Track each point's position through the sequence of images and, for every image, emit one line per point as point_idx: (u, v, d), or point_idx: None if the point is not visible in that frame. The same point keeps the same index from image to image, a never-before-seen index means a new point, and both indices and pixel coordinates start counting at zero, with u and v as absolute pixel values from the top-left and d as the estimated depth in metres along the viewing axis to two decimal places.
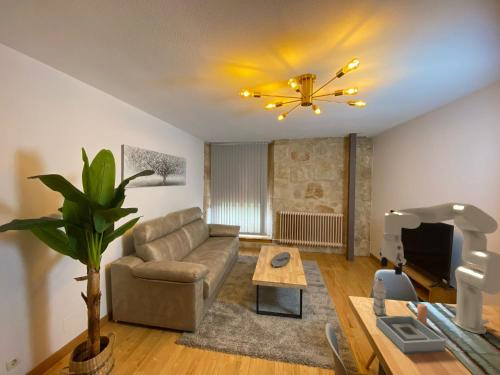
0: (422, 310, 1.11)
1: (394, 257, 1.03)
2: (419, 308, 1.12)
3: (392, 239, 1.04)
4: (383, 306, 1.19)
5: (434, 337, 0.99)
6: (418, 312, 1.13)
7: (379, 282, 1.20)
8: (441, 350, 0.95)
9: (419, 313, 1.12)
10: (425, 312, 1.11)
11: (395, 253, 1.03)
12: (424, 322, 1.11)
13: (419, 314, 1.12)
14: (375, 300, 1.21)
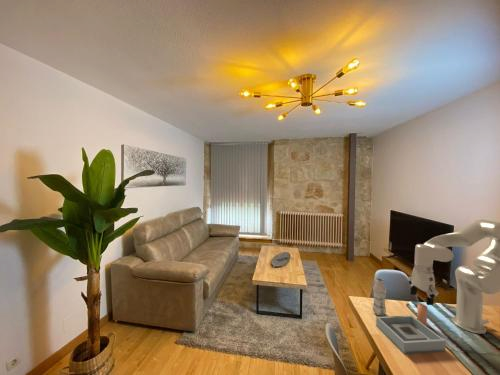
0: (422, 310, 1.11)
1: (426, 288, 1.08)
2: (419, 308, 1.12)
3: (424, 270, 1.09)
4: (383, 306, 1.19)
5: (434, 337, 0.99)
6: (418, 312, 1.13)
7: (379, 282, 1.20)
8: (441, 350, 0.95)
9: (419, 313, 1.12)
10: (425, 312, 1.11)
11: (427, 284, 1.08)
12: (424, 322, 1.11)
13: (419, 314, 1.12)
14: (375, 300, 1.21)
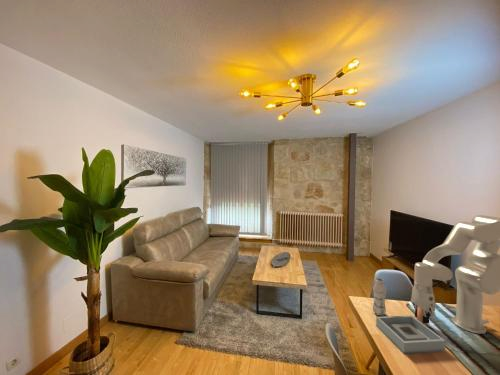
0: (422, 310, 1.11)
1: (426, 307, 1.08)
2: (419, 308, 1.12)
3: (424, 290, 1.09)
4: (383, 306, 1.19)
5: (434, 337, 0.99)
6: (418, 312, 1.13)
7: (379, 282, 1.20)
8: (441, 350, 0.95)
9: (419, 313, 1.12)
10: None
11: (427, 304, 1.08)
12: None
13: (419, 314, 1.12)
14: (375, 300, 1.21)
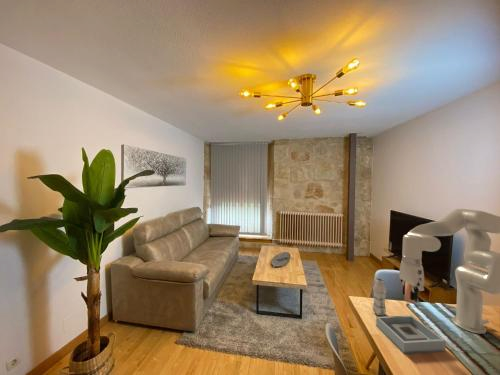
0: (410, 286, 1.02)
1: (414, 282, 0.99)
2: (407, 283, 1.03)
3: (412, 263, 1.00)
4: (383, 306, 1.19)
5: (434, 337, 0.99)
6: (406, 288, 1.03)
7: (379, 282, 1.20)
8: (441, 350, 0.95)
9: (407, 289, 1.03)
10: None
11: (415, 278, 0.98)
12: None
13: (407, 290, 1.03)
14: (375, 300, 1.21)
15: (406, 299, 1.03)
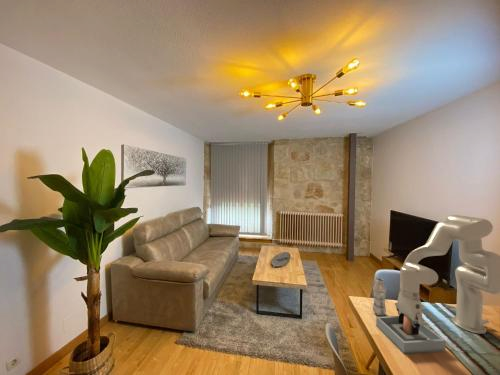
0: (408, 321, 1.01)
1: (412, 316, 0.98)
2: (405, 318, 1.02)
3: (410, 297, 0.99)
4: (383, 306, 1.19)
5: (434, 337, 0.99)
6: (404, 323, 1.03)
7: (379, 282, 1.20)
8: (441, 350, 0.95)
9: (406, 324, 1.02)
10: None
11: (413, 312, 0.98)
12: (410, 334, 1.01)
13: (405, 325, 1.02)
14: (375, 300, 1.21)
15: None
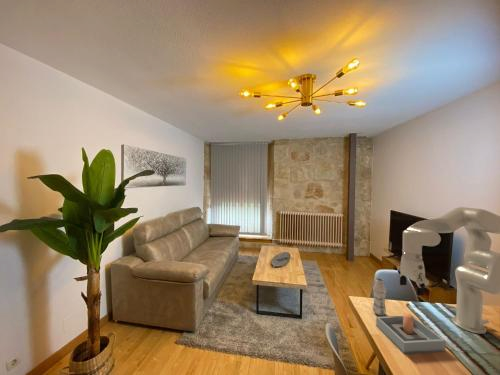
0: (408, 321, 1.01)
1: (415, 277, 0.99)
2: (405, 318, 1.02)
3: (413, 258, 1.00)
4: (383, 306, 1.19)
5: (434, 337, 0.99)
6: (404, 323, 1.03)
7: (379, 282, 1.20)
8: (441, 350, 0.95)
9: (405, 324, 1.02)
10: (411, 323, 1.01)
11: (416, 273, 0.98)
12: (410, 334, 1.01)
13: (405, 325, 1.02)
14: (375, 300, 1.21)
15: None
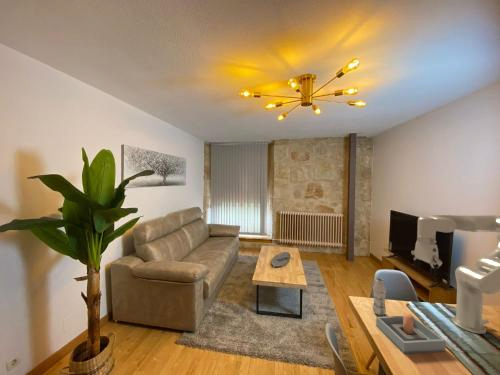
0: (408, 321, 1.01)
1: (429, 259, 1.09)
2: (405, 318, 1.02)
3: (427, 242, 1.10)
4: (383, 306, 1.19)
5: (434, 337, 0.99)
6: (404, 323, 1.03)
7: (379, 282, 1.20)
8: (441, 350, 0.95)
9: (405, 324, 1.02)
10: (411, 323, 1.01)
11: (430, 255, 1.09)
12: (410, 334, 1.01)
13: (405, 325, 1.02)
14: (375, 300, 1.21)
15: None
